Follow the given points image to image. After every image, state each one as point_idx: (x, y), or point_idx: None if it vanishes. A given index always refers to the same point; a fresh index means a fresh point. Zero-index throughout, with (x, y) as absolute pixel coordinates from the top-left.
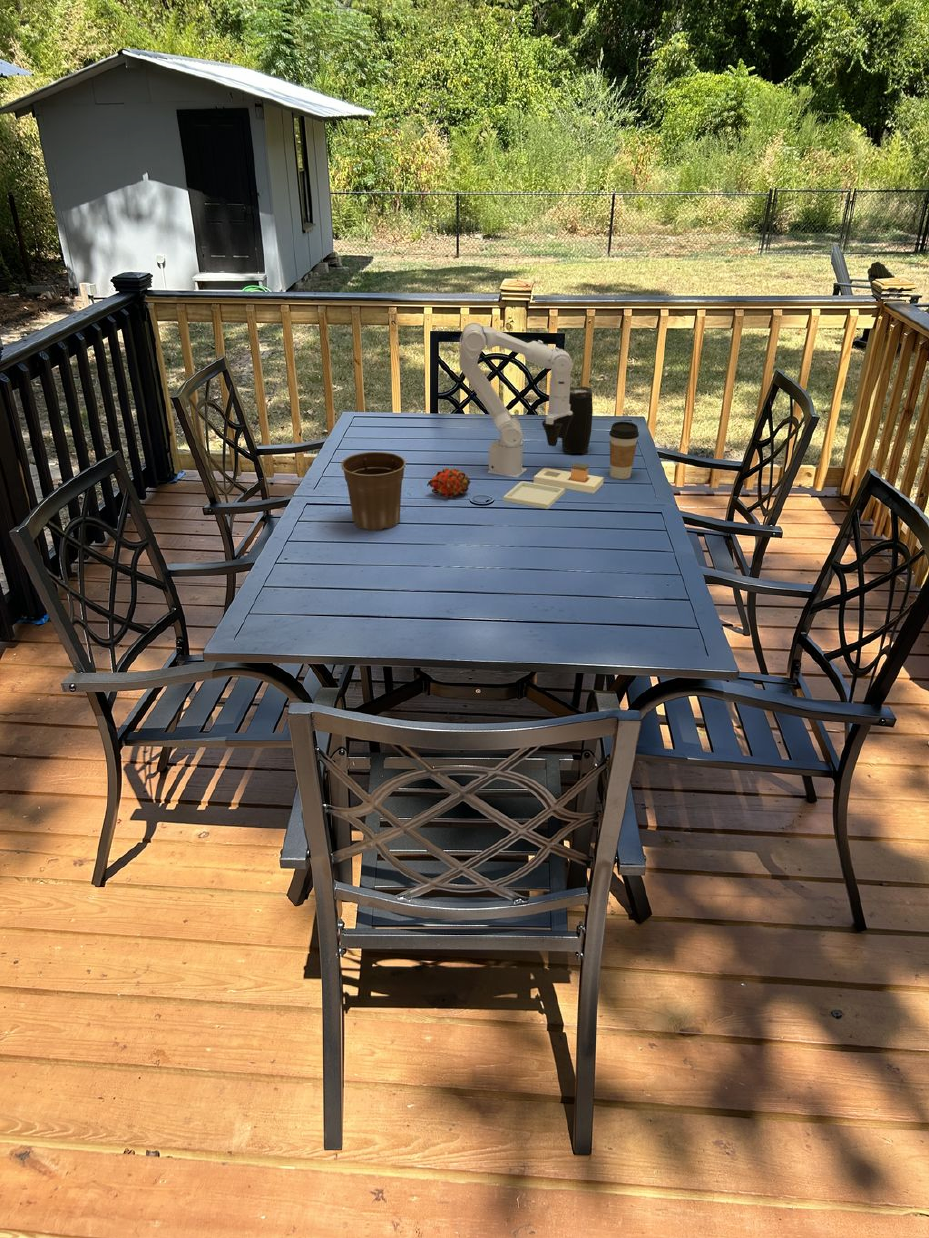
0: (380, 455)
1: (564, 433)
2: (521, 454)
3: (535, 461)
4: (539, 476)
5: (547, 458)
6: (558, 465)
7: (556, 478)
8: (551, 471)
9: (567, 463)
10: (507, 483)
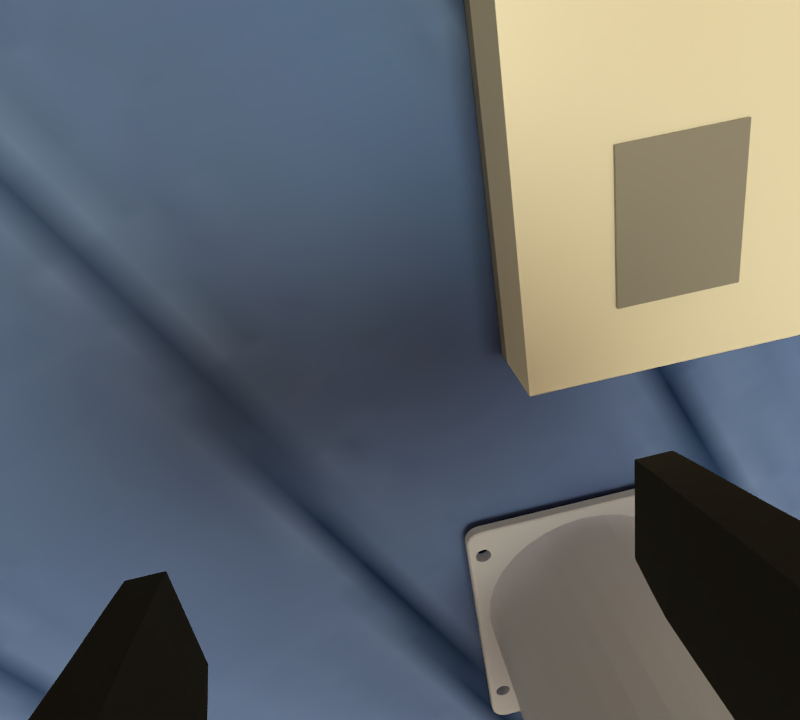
0: None
1: (140, 667)
2: (673, 657)
3: (221, 600)
4: (794, 290)
5: (70, 579)
6: (151, 410)
7: (789, 96)
8: (598, 274)
9: (22, 375)
10: (795, 470)
